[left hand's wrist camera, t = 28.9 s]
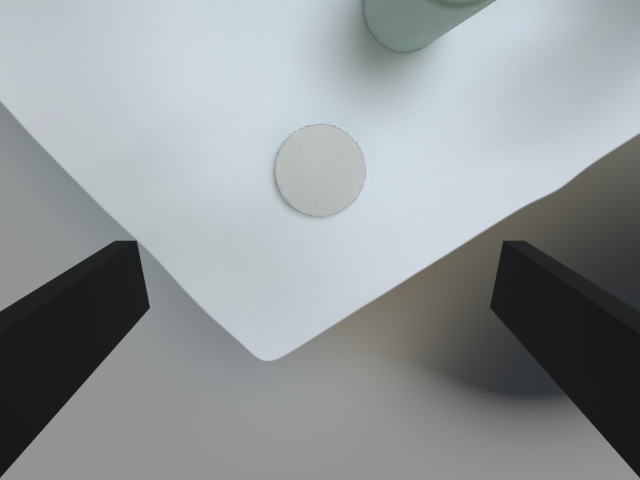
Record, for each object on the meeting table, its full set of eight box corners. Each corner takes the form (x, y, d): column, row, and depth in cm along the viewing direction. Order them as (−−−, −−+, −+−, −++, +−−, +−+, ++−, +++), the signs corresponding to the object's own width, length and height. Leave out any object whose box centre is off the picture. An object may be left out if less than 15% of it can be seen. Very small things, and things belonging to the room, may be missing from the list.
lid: (363, 120, 36) (366, 121, 34) (365, 209, 39) (367, 214, 37) (272, 126, 36) (269, 127, 34) (281, 214, 39) (279, 219, 37)
